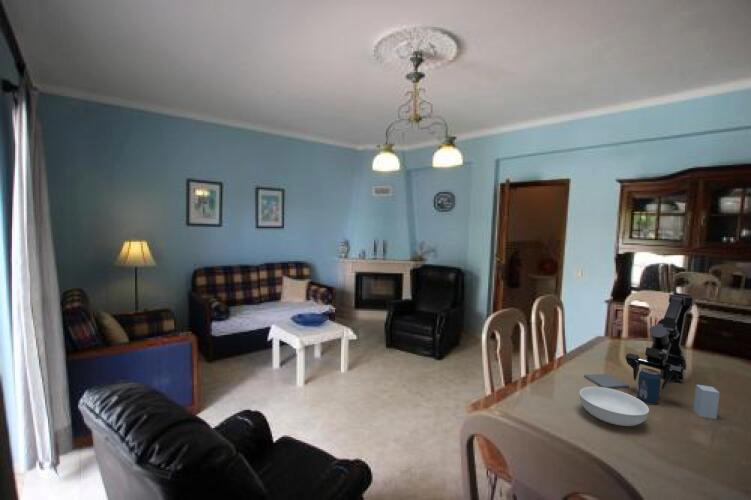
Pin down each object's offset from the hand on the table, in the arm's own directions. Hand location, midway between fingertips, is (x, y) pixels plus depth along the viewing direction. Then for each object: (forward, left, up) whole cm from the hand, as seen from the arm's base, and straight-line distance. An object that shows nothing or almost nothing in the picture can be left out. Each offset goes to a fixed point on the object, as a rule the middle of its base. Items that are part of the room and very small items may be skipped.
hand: (648, 384), depth 147 cm
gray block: (-17, +5, -7) cm, 19 cm away
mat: (+9, -15, -7) cm, 19 cm away
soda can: (-1, -1, -7) cm, 7 cm away
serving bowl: (+19, +18, -7) cm, 27 cm away
